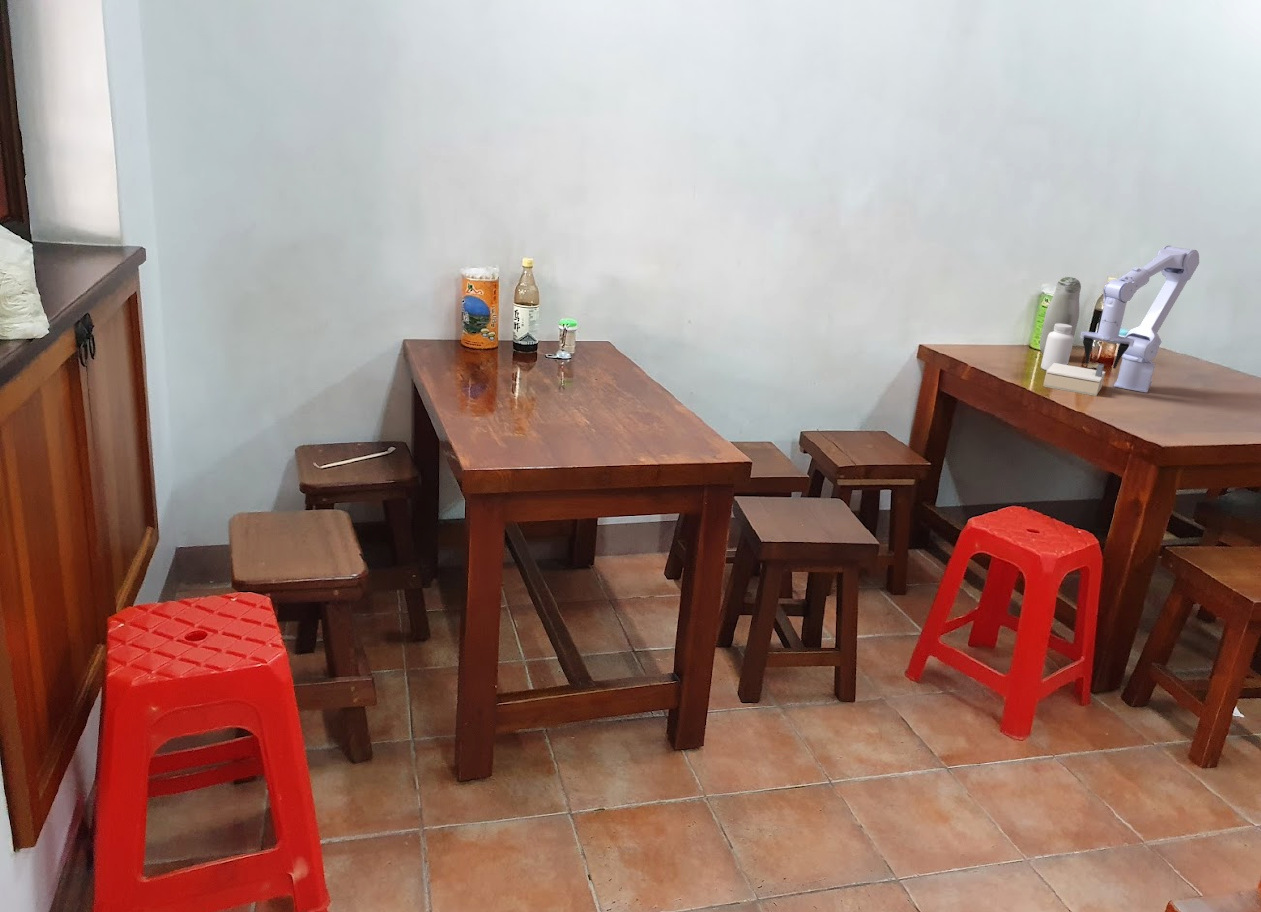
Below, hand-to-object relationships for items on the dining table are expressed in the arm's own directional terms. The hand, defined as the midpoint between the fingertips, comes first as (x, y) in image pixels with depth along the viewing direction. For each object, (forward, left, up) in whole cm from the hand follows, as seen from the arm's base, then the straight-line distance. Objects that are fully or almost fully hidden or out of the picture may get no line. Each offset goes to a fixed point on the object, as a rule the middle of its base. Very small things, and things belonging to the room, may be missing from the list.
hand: (1100, 365), depth 288 cm
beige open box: (+6, 0, -8) cm, 10 cm away
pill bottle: (+15, -19, -8) cm, 25 cm away
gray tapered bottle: (+18, -37, -8) cm, 42 cm away
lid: (+6, 0, -4) cm, 7 cm away
